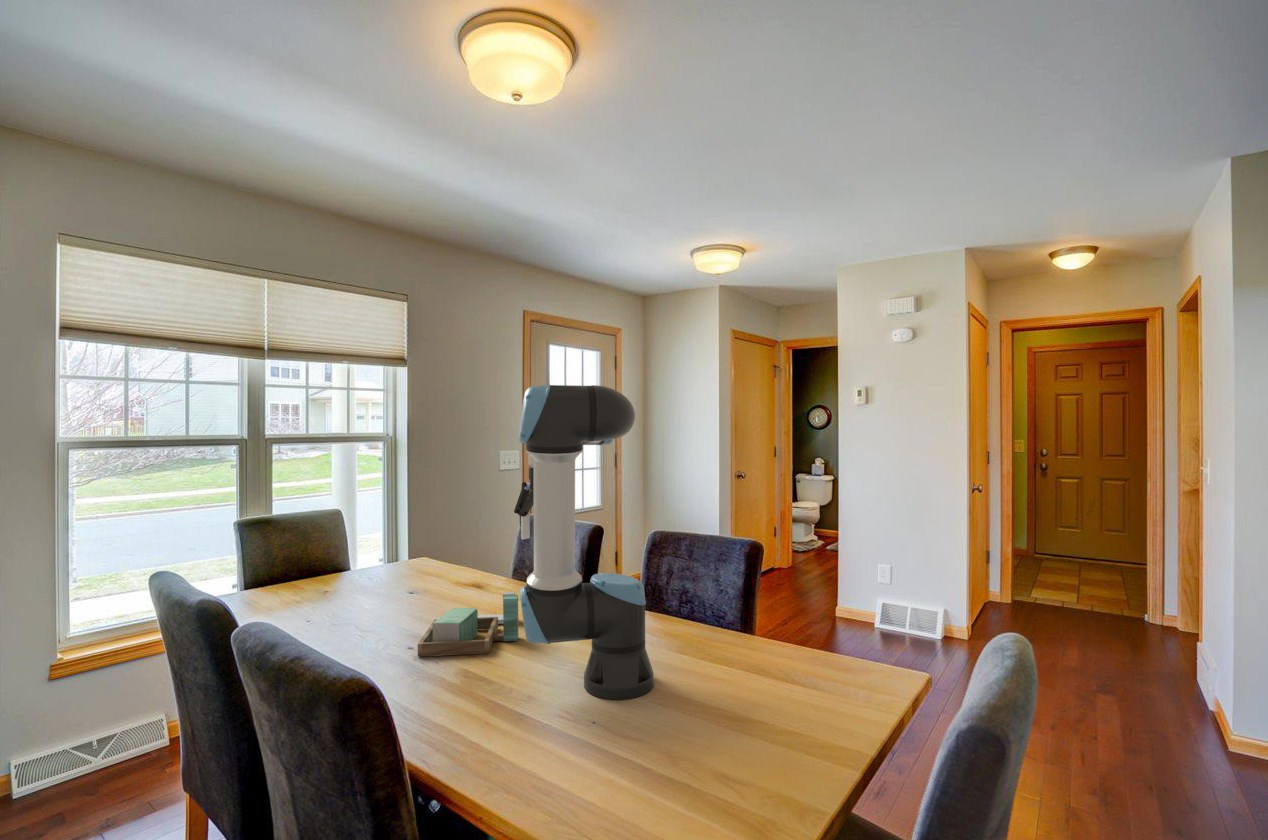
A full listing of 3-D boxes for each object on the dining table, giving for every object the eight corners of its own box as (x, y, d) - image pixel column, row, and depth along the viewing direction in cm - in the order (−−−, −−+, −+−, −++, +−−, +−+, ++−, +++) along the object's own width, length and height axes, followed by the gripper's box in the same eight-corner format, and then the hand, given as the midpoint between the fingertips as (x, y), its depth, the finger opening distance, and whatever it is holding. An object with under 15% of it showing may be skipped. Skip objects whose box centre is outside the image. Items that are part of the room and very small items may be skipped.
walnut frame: (514, 651, 150) (514, 607, 150) (417, 656, 148) (417, 611, 148) (520, 626, 169) (520, 587, 169) (435, 630, 167) (434, 590, 167)
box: (478, 634, 164) (478, 606, 165) (460, 653, 151) (460, 623, 151) (452, 634, 165) (451, 606, 165) (432, 653, 152) (431, 623, 152)
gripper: (584, 466, 168) (585, 543, 167) (520, 464, 182) (521, 534, 182) (566, 467, 162) (566, 547, 161) (501, 465, 176) (502, 538, 176)
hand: (542, 541), depth 172 cm, fingers open, 13 cm apart
